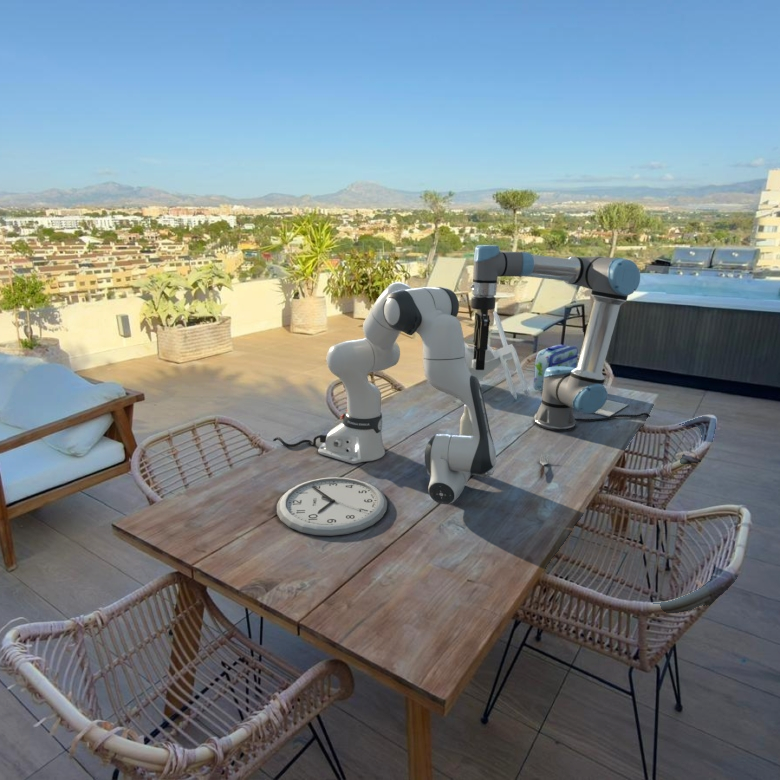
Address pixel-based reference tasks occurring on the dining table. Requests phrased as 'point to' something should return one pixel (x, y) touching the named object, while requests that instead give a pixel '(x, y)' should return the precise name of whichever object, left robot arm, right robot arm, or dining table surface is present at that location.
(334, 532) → the wall clock
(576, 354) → the lunch box
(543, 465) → the fork
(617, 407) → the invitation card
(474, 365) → the cap
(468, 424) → the bottle
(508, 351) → the white plastic object
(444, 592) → the dining table surface
